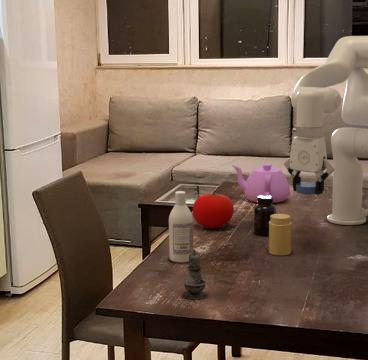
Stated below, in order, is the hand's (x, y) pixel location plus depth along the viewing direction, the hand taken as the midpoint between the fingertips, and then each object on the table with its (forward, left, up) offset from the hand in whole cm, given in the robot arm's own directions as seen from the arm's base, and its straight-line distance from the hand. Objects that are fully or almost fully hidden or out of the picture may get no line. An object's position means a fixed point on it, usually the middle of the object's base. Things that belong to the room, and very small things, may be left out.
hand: (308, 191), depth 221 cm
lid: (0, 0, +2) cm, 2 cm away
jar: (+9, +6, -17) cm, 20 cm away
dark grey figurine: (+35, +41, -17) cm, 56 cm away
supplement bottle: (+11, -14, -17) cm, 25 cm away
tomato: (+27, -23, -17) cm, 39 cm away
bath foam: (+38, +12, -17) cm, 43 cm away
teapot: (+7, -60, -17) cm, 63 cm away
